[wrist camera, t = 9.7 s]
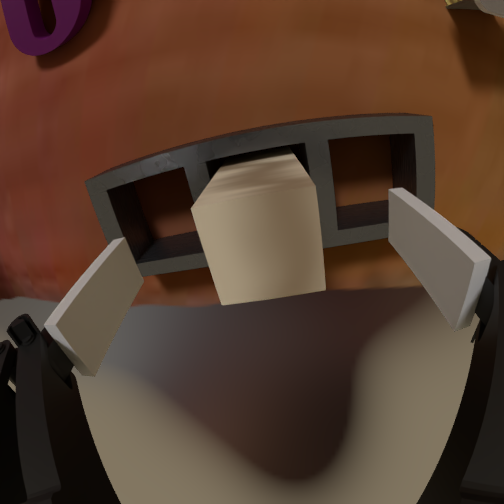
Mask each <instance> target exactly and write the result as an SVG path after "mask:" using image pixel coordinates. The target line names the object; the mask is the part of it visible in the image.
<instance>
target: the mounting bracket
mask: <svg viewBox="0 0 504 504" xmlns="http://www.w3.org/2000/svg"><path fill="white" fill-rule="evenodd" d="M1 3H2V7H3V12H4V16H5V20H6V24H7V27H8V31H9V34H10V37H11V40H12V42H13V44H14V45H15V47H16V48H17V49H18V50H19V51H21V52H22V53H24V54H27V55H32V56H37V55H43V54H46V53H48V52H50V51H52V50H54V49H56V48H58V47H60V46H61V45H63V44H65V43H66V42H68V41H69V40H70V39H71V38H73V37H74V36H75V35H76V34H77V33H78V32H79V30H80V29H81V28H82V26H83V25H84V23H85V21H86V19H87V17H88V14H89V12H90V8H91V3H92V0H52V5H53V9H54V12H55V16H56V27H55V30H54V32H53V33H52V34H50V33H48V32H47V31H46V30H45V27H44V23H43V20H42V16H41V12H40V8H39V4H38V0H1Z"/></svg>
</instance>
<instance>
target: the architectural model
mask: <svg viewBox="0 0 504 504" xmlns="http://www.w3.org/2000/svg"><path fill="white" fill-rule="evenodd" d="M445 1H446V3H447V6H446V8H447V9H473V10H481V11H483V12H485V13H488V14H492V15H495V16H499V17H502V18H504V0H445Z"/></svg>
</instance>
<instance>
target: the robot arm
mask: <svg viewBox="0 0 504 504" xmlns="http://www.w3.org/2000/svg"><path fill="white" fill-rule="evenodd" d="M388 191H389V237H388V241H389V242H390V244H391V245H392V246H393V247H394V248H395V250H396V251H397V252H398V253H399V255H400V256H401V257H402V259H403V260H404V261H405V262H406V264H407V265H408V266H409V268H410V269H411V270H412V272H413V273H414V274H415V276H416V277H417V278H418V280H419V281H420V282H421V284H422V285H423V286H424V288H425V289H426V291H427V292H428V293H429V295H430V296H431V298H432V299H433V301H434V302H435V303H436V305H437V306H438V308H439V309H440V311H441V312H442V314H443V315H444V317H445V318H446V320H447V321H448V323H449V324H450V326H451V328H452V329H453V331H454V332H455V331H458V330H460V329H463V328H465V327H468V326H470V324H471V322H472V319H473V316H474V314H475V313H476V314H477V316H478V317H479V318H480V321H479V324H478V326H477V328H476V331H475V333H474V335H473V337H472V340H471V342H472V343H473V342H474V340H475V344H474V349H473V355H472V360H471V364H470V369H469V373H468V378H467V382H466V386H465V390H464V393H463V397H462V400H461V404H460V407H459V410H458V413H457V416H456V419H455V422H454V425H453V428H452V430H451V433H450V436H449V438H448V441H447V443H446V446H445V448H444V450H443V453H442V455H441V458H440V460H439V462H438V464H437V466H436V468H435V470H434V472H433V474H432V477H431V479H430V480H429V482H428V484H427V486H426V488H425V490H424V492H423V493H422V495H421V497H420V499H419V500H418V502H417V504H504V260H502V261H500V260H499V259H498V258H497V257H496V256H494V255H493V254H492V253H491V252H490V251H489V250H488V249H487V248H486V247H484V246H483V245H481V243H480V242H479V241H478V240H475V238H474V237H473V236H472V235H470V234H469V233H468V232H466V231H464V230H462V229H460V228H458V227H455V226H454V225H453V224H451V223H450V222H449V221H448V220H446V219H445V218H444V217H442V216H441V215H440V214H438V213H437V212H436V211H435V210H433V209H432V208H430V207H429V206H428V205H426V204H425V203H424V202H422V201H421V200H419V199H418V198H417V197H415V196H414V195H412V194H411V193H409V192H408V191H406V190H405V189H404V188H394V189H388ZM143 282H144V280H143V278H142V276H141V274H140V271H139V269H138V267H137V265H136V262H135V260H134V258H133V255H132V253H131V251H130V248H129V246H128V244H127V241H126V239H125V237H123V238H119V239H115V240H113V241H112V242H111V243H110V244H109V245H108V246H107V247H106V249H105V250H104V251H103V252H102V253H101V254H100V255H99V256H98V257H97V259H96V260H95V261H94V262H93V263H92V264H91V265H90V267H89V268H88V269H87V270H86V271H85V273H84V274H83V275H82V276H81V277H80V278H79V280H78V281H77V282H76V283H75V285H74V286H73V287H72V288H71V289H70V291H69V292H68V293H67V294H66V296H65V297H64V298H63V300H62V301H61V302H60V303H59V305H58V306H57V308H56V309H55V310H54V311H53V313H52V314H51V315H50V317H49V318H48V320H47V321H46V322H45V324H44V329H43V330H42V331H41V332H40V331H39V329H38V328H37V326H36V325H35V324H34V322H33V320H32V319H31V317H30V316H29V315H28V314H23V315H21V316H19V317H17V318H16V319H15V320H14V321H13V322H12V323H11V324H10V326H9V327H8V329H7V333H8V334H9V336H10V337H11V338H12V340H13V341H14V342H15V344H16V345H17V346H18V348H14V347H13V345H12V344H11V342H10V341H9V340H5V341H3V342H0V504H121V503H120V501H119V499H118V497H117V495H116V493H115V491H114V489H113V487H112V484H111V482H110V480H109V478H108V476H107V473H106V471H105V469H104V467H103V464H102V462H101V459H100V456H99V454H98V451H97V449H96V446H95V443H94V440H93V437H92V434H91V431H90V428H89V425H88V422H87V419H86V415H85V412H84V409H83V405H82V401H81V397H80V393H79V389H78V385H77V381H76V377H75V376H74V374H73V373H72V372H71V370H72V368H73V366H75V367H76V369H77V370H78V371H79V372H80V373H81V374H82V375H85V376H95V375H96V373H97V371H98V369H99V367H100V365H101V362H102V360H103V358H104V356H105V354H106V352H107V350H108V348H109V346H110V344H111V342H112V340H113V338H114V336H115V334H116V332H117V330H118V328H119V326H120V324H121V322H122V321H123V319H124V317H125V315H126V313H127V311H128V309H129V307H130V306H131V304H132V302H133V300H134V298H135V296H136V295H137V293H138V291H139V289H140V287H141V286H142V284H143ZM9 380H10V381H11V382H12V383H13V384H14V385H15V386H16V393H15V392H14V391H13V390H12V389H11V387H10V386H9V385H8V381H9Z"/></svg>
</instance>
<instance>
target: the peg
mask: <svg viewBox="0 0 504 504" xmlns="http://www.w3.org/2000/svg"><path fill="white" fill-rule="evenodd" d="M191 211H192V215H193V218H194V221H195V224H196V228H197V231H198V234H199V237H200V241H201V244H202V247H203V250H204V253H205V256H206V259H207V262H208V265H209V268H210V272H211V275H212V278H213V281H214V283H215V286H216V289H217V292H218V295H219V298H220V301H221V304H222V305H228V304H236V303H244V302H251V301H258V300H265V299H273V298H280V297H287V296H292V295H299V294H305V293H312V292H318V291H324V290H326V284H325V270H324V258H323V247H322V236H321V227H320V218H319V209H318V201H317V193H316V186H315V184H314V183H313V181H312V180H311V178H310V177H309V175H308V174H307V172H306V171H305V169H304V168H303V166H302V165H301V163H300V162H299V161H298V159H297V158H296V156H295V155H294V153H293V152H292V151H291V149H290V148H289V147H284V148H278V149H272V150H266V151H260V152H255V153H250V154H245V155H240V156H235V157H230V158H227V159H226V160H225V162H224V163H223V164H222V166H221V167H220V168H219V170H218V171H217V173H216V174H215V175H214V177H213V178H212V179H211V181H210V182H209V184H208V185H207V186H206V188H205V189H204V190H203V192H202V193H201V195H200V196H199V198H198V199H197V200H196V202H195V203H194V205H193V206H192V208H191Z"/></svg>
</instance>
